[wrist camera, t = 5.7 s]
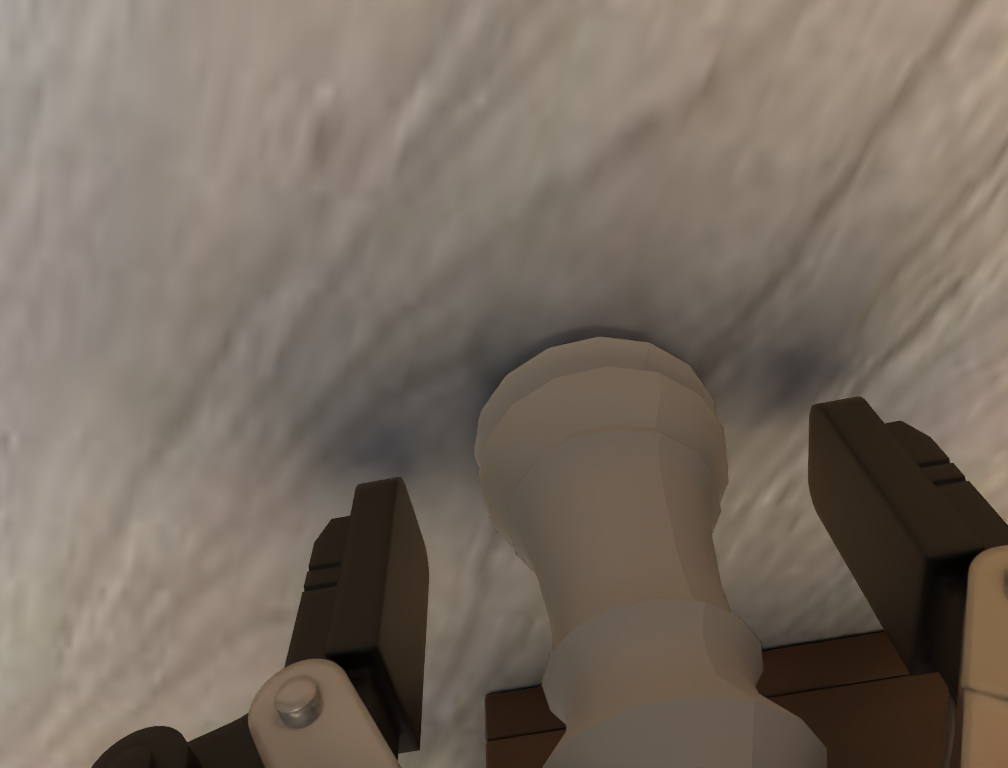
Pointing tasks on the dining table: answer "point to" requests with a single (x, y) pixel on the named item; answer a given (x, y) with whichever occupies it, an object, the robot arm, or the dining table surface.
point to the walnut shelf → (795, 687)
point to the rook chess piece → (630, 561)
